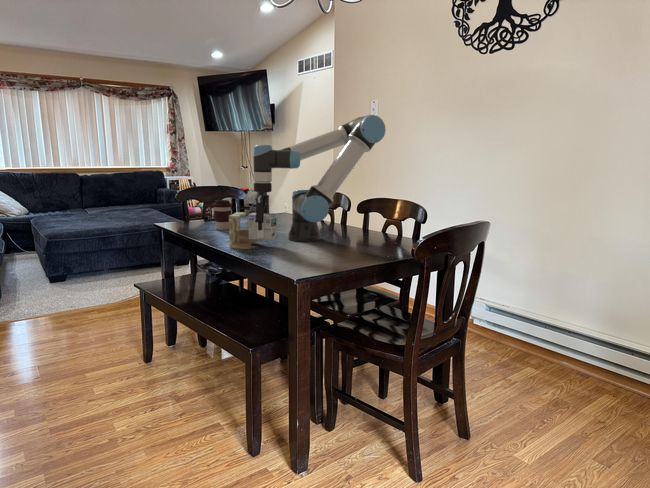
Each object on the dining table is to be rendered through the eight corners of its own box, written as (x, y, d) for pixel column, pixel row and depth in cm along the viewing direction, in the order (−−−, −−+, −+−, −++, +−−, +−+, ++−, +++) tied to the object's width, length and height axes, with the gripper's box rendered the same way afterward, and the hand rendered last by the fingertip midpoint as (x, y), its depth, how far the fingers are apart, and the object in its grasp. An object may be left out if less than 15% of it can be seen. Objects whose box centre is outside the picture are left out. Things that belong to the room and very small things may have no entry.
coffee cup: (209, 228, 238) (208, 200, 235) (226, 226, 245) (225, 199, 242) (219, 231, 231) (218, 201, 228) (236, 229, 237) (235, 200, 234)
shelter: (237, 242, 203) (237, 212, 201) (257, 243, 202) (257, 212, 200) (229, 247, 192) (228, 215, 189) (250, 248, 191) (250, 216, 188)
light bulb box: (277, 238, 197) (277, 213, 195) (271, 240, 191) (271, 215, 189) (254, 236, 200) (253, 212, 198) (247, 239, 193) (247, 213, 191)
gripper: (259, 180, 201) (259, 231, 205) (247, 183, 181) (248, 239, 186) (276, 181, 200) (276, 232, 205) (265, 184, 181) (265, 240, 185)
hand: (262, 235), depth 195 cm, fingers closed on light bulb box, 7 cm apart
